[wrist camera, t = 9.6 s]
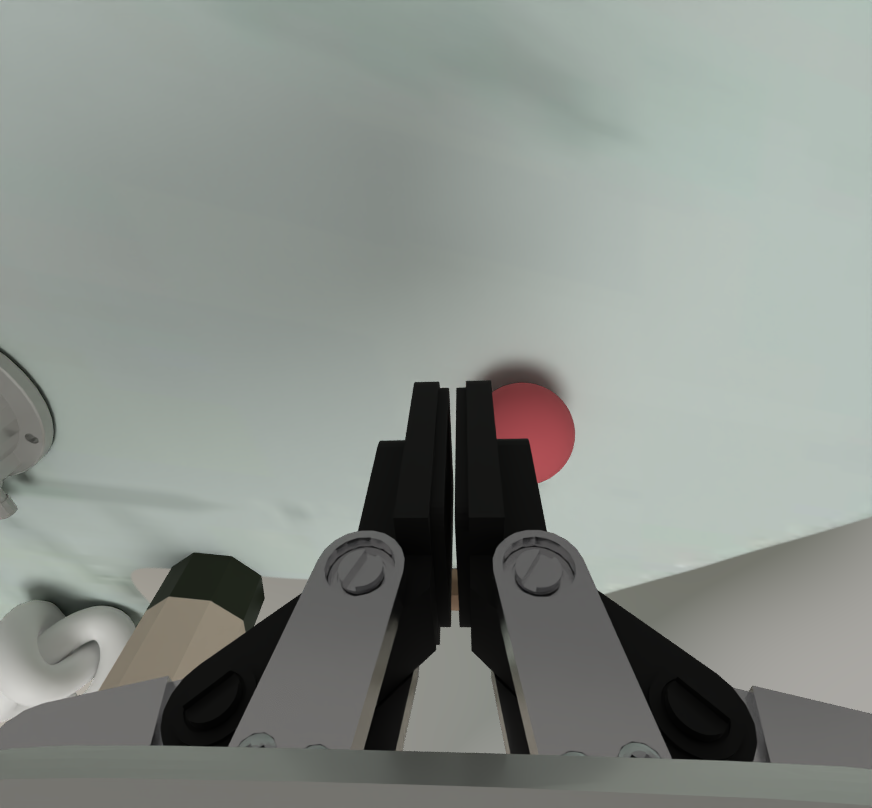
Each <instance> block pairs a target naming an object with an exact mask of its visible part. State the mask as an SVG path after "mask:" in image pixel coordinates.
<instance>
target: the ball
mask: <svg viewBox="0 0 872 808" xmlns="http://www.w3.org/2000/svg"><path fill="white" fill-rule="evenodd" d="M492 397H493V407H494V416H495V426H496V436H497V439H521V438H528V440H529V443H530V447H531V452H532V457H533V463H534V468H535V473H536V478H537V483H540V482H543V481H545V480H547V479H549V478H551V477H552V476H554V475H555V474H556V473H557V472H559V471H560V470H561V469H562V467H563V466H564V465H565V464H566V462H567V461H568V459H569V457H570V455H571V453H572V450H573V446H574V441H575V428H574V423H573V419H572V416H571V414H570V411H569V410H568V408H567V406H566V405H565V404H564V402H563V401H562V400H561V399H560V398H559V397H558V396H557V395H556V394H554V393H553V392H552V391H550V390H548V389H547V388H545V387H542V386H539V385H536V384H532V383H513V384H508V385H505V386H503V387H500V388H498V389H497V390H495V391H493V392H492Z"/></svg>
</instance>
